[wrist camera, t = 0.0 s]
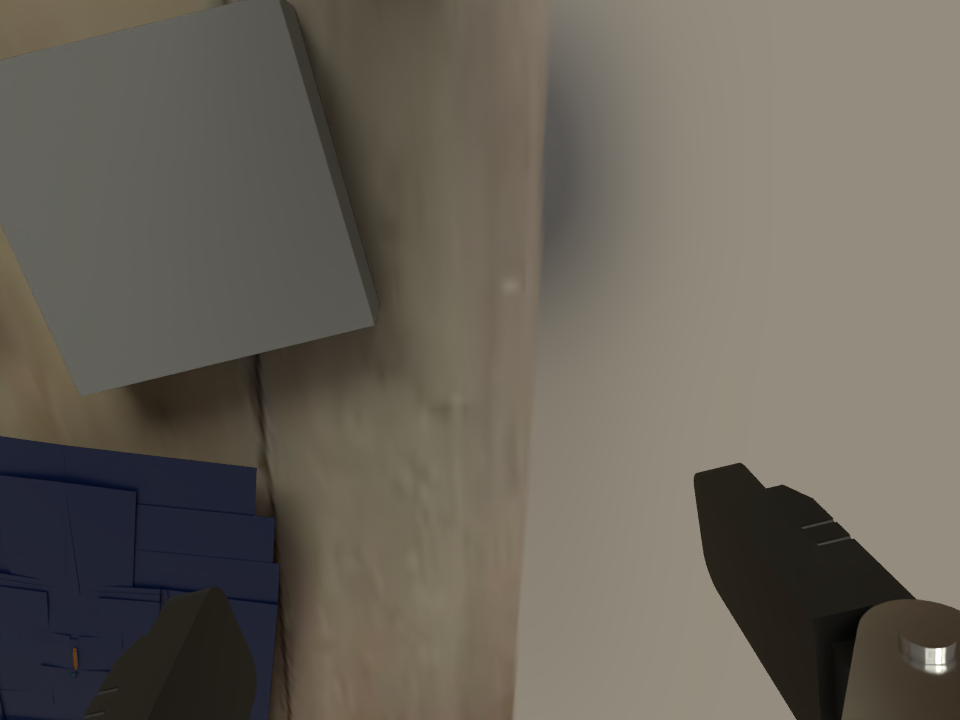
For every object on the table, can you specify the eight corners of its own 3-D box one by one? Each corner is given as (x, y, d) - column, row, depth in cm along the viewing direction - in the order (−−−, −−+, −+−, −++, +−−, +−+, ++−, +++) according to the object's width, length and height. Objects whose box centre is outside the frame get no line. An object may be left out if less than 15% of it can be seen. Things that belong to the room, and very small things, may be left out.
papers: (300, 445, 41) (287, 481, 38) (269, 765, 54) (258, 814, 50) (-144, 386, 38) (-199, 419, 35) (-66, 740, 51) (-101, 789, 47)
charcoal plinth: (-14, 82, 35) (-68, 77, 31) (293, 6, 34) (276, -8, 31) (113, 370, 40) (80, 396, 36) (380, 306, 40) (374, 325, 36)
